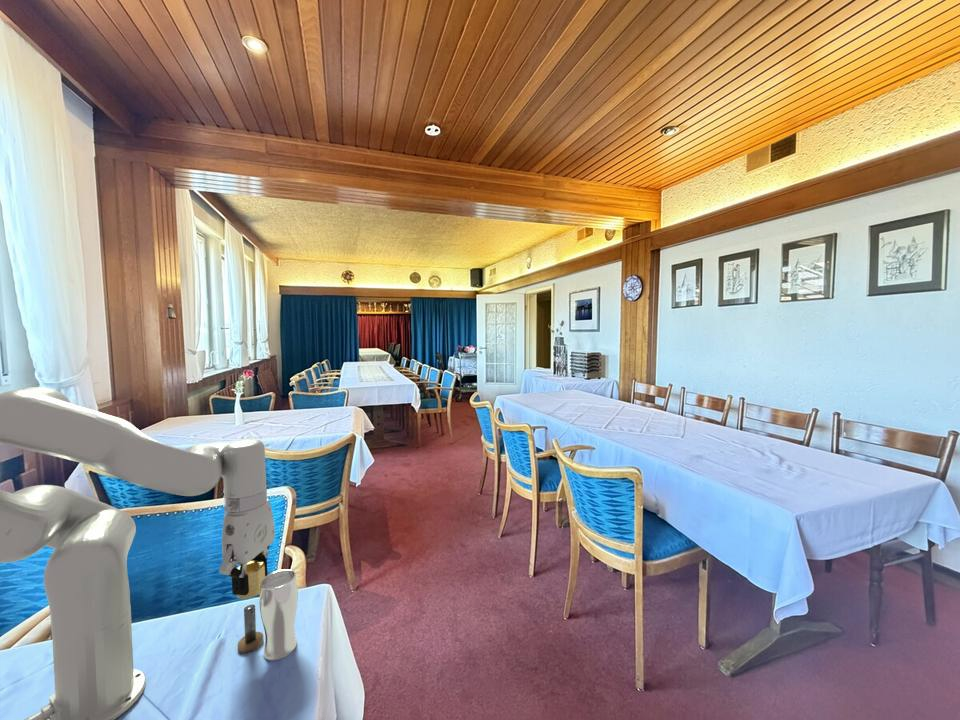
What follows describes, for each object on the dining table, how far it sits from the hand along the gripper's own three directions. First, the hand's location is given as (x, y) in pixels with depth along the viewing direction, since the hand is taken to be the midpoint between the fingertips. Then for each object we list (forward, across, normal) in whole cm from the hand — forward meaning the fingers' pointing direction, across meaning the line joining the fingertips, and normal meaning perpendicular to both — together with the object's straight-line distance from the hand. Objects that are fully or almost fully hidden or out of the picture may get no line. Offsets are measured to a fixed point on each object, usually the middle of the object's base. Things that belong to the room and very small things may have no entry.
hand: (250, 584), depth 79 cm
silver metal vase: (+13, -1, -7) cm, 15 cm away
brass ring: (+1, 0, 0) cm, 1 cm away
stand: (+13, 0, 0) cm, 13 cm away
